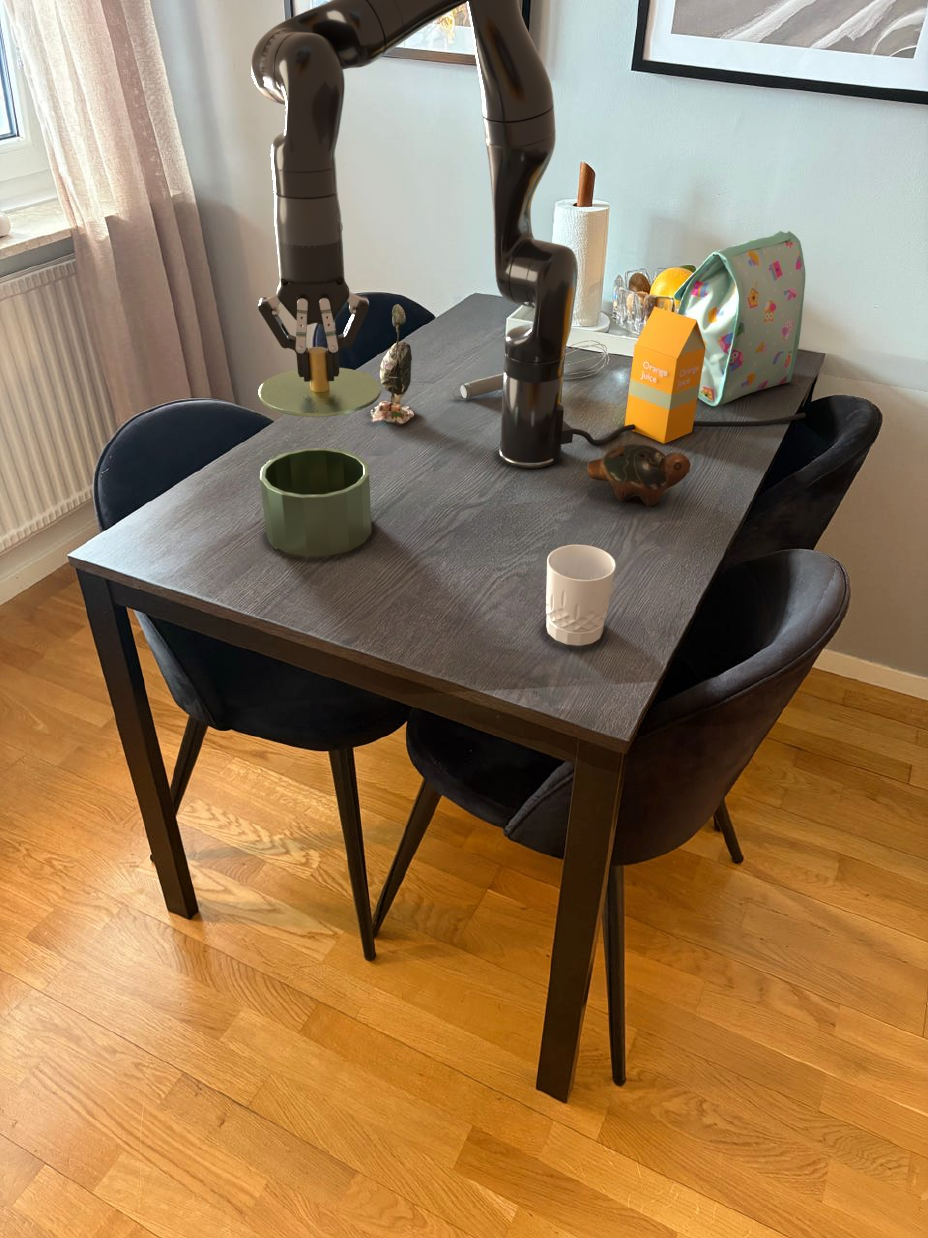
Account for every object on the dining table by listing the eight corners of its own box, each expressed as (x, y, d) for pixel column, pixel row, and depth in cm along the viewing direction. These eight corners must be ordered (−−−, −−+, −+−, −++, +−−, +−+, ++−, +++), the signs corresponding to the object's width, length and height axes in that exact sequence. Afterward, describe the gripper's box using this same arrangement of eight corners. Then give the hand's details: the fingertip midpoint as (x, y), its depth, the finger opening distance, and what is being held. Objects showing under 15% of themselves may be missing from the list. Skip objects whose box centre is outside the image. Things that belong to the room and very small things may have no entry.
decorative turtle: (684, 516, 139) (688, 467, 134) (581, 507, 143) (581, 459, 138) (690, 484, 147) (694, 436, 142) (592, 476, 150) (593, 429, 146)
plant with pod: (427, 406, 171) (426, 292, 159) (402, 430, 162) (399, 312, 150) (385, 399, 173) (381, 286, 161) (358, 423, 164) (352, 306, 152)
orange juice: (663, 444, 159) (681, 324, 148) (623, 426, 165) (637, 310, 153) (692, 431, 164) (712, 314, 152) (652, 415, 169) (669, 301, 157)
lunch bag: (730, 359, 192) (756, 218, 176) (799, 385, 182) (833, 237, 166) (652, 385, 180) (673, 236, 164) (722, 414, 170) (751, 257, 154)
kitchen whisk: (444, 394, 175) (445, 361, 171) (595, 365, 189) (599, 334, 185) (461, 406, 170) (461, 372, 167) (614, 376, 184) (617, 344, 181)
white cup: (537, 614, 119) (542, 545, 113) (599, 612, 119) (608, 543, 113) (547, 653, 112) (553, 581, 106) (613, 650, 113) (622, 579, 107)
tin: (370, 506, 140) (367, 446, 135) (372, 557, 129) (370, 495, 123) (270, 509, 139) (264, 449, 133) (264, 562, 127) (256, 498, 122)
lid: (378, 373, 128) (377, 328, 124) (383, 420, 115) (381, 371, 112) (263, 375, 126) (258, 330, 123) (255, 423, 114) (249, 374, 110)
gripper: (244, 243, 106) (261, 392, 116) (371, 242, 107) (376, 389, 117) (249, 226, 112) (264, 369, 122) (369, 225, 113) (374, 367, 123)
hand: (319, 378), depth 120 cm, fingers closed on lid, 2 cm apart
